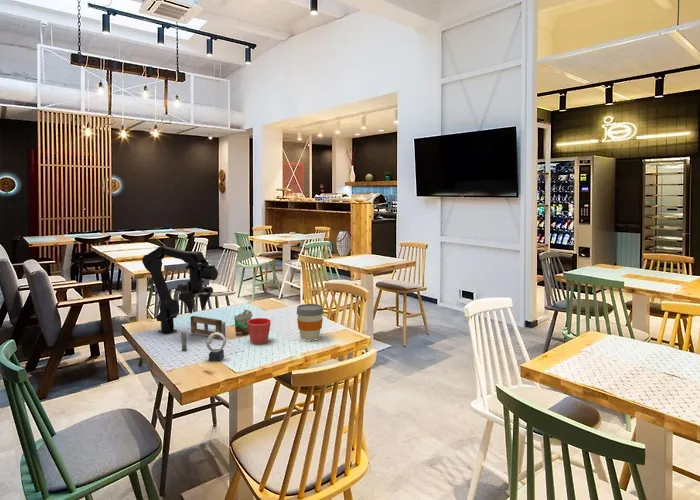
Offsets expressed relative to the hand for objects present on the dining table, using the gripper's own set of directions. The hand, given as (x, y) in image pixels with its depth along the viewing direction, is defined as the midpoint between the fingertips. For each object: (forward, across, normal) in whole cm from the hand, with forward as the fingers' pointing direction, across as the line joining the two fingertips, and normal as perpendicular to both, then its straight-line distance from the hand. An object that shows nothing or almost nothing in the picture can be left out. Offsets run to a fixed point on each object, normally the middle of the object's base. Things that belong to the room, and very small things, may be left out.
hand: (196, 311), depth 217 cm
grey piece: (+12, +10, +11) cm, 19 cm away
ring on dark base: (+12, +23, +26) cm, 37 cm away
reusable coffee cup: (+12, -15, +52) cm, 55 cm away
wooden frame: (+11, -1, +5) cm, 12 cm away
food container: (+12, -12, +19) cm, 26 cm away
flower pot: (+12, -2, +32) cm, 34 cm away
